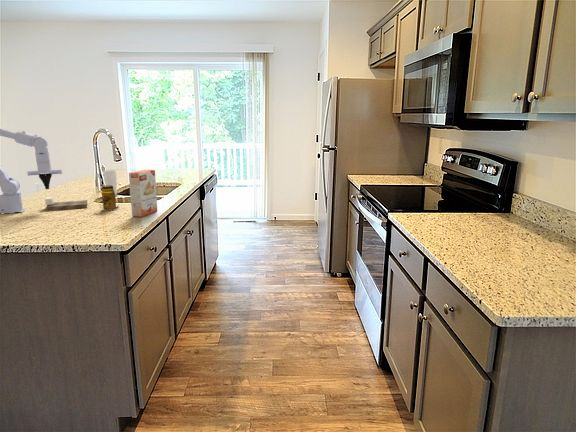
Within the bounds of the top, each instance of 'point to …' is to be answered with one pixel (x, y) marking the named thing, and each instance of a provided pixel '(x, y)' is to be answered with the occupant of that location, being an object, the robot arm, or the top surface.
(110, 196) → the condiment
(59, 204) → the fader board
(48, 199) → the fader tab
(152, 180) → the cracker box
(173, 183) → the top surface
